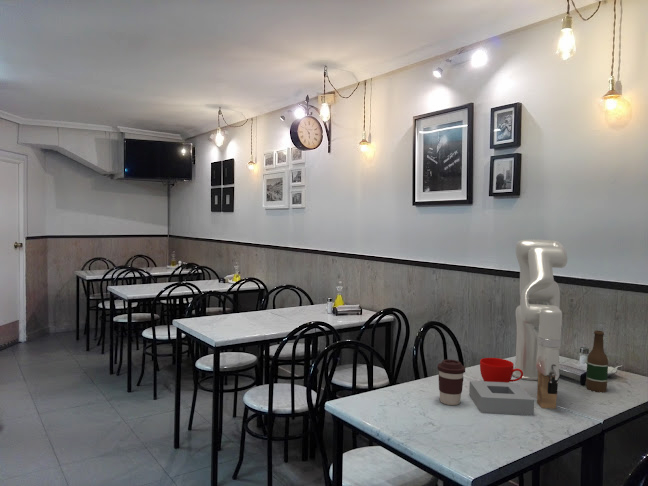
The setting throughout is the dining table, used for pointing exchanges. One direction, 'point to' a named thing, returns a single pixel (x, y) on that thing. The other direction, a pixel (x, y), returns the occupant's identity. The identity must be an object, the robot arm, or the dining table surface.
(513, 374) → the robot arm
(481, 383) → the well block
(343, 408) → the dining table surface
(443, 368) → the coffee cup
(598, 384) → the beer bottle
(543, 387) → the brown rectangular block
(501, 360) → the ceramic cup
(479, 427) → the dining table surface
